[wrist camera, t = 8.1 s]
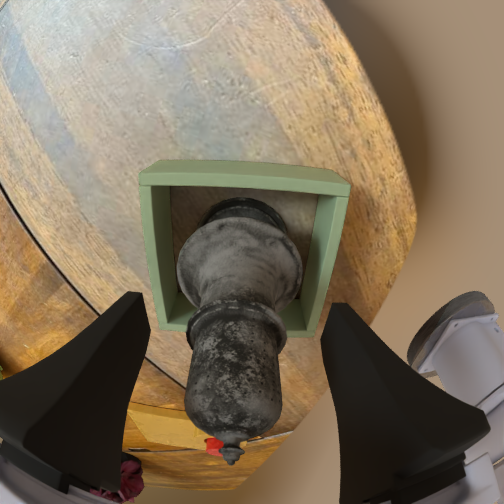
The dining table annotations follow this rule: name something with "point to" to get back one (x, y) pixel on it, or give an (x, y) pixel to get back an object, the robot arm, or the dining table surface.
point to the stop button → (214, 446)
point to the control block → (168, 426)
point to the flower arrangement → (125, 481)
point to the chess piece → (237, 319)
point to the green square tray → (241, 176)
